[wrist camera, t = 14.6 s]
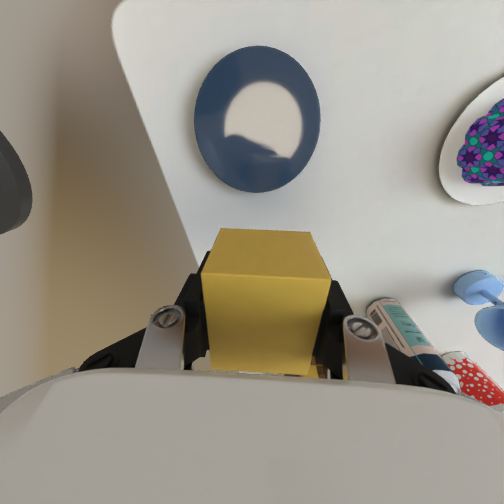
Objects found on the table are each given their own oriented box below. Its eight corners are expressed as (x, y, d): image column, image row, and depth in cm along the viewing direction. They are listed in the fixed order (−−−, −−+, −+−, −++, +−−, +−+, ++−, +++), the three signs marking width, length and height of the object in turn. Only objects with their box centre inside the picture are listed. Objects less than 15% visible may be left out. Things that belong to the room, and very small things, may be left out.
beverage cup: (424, 364, 38) (500, 476, 25) (454, 344, 35) (556, 458, 23) (450, 374, 39) (536, 487, 26) (482, 356, 36) (594, 472, 24)
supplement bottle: (370, 323, 34) (417, 410, 23) (360, 303, 32) (407, 388, 21) (402, 313, 32) (468, 401, 22) (395, 291, 30) (463, 375, 20)
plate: (203, 189, 25) (201, 191, 24) (189, 51, 19) (185, 46, 18) (309, 191, 24) (311, 193, 23) (327, 49, 18) (331, 44, 17)
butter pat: (224, 308, 14) (210, 369, 10) (220, 227, 11) (200, 273, 7) (296, 312, 13) (307, 376, 10) (310, 231, 11) (332, 279, 7)
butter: (298, 380, 40) (303, 411, 36) (302, 364, 37) (306, 394, 33) (317, 381, 40) (324, 412, 35) (322, 365, 37) (329, 396, 33)
